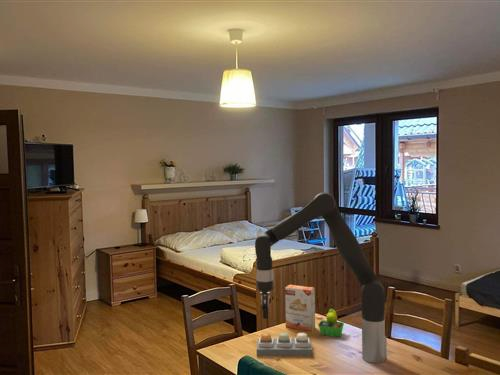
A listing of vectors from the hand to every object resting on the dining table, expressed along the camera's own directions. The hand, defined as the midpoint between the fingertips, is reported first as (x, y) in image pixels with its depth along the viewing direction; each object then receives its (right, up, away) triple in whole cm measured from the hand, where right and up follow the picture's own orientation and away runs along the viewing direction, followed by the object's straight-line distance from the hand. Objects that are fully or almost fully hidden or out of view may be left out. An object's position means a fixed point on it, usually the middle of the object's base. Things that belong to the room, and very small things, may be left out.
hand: (265, 317), depth 197 cm
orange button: (0, -10, 0) cm, 10 cm away
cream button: (+16, -10, -1) cm, 19 cm away
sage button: (+8, -10, 0) cm, 13 cm away
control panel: (+8, -15, 0) cm, 17 cm away
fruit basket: (+33, -14, +19) cm, 40 cm away
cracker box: (+19, -14, +27) cm, 36 cm away
